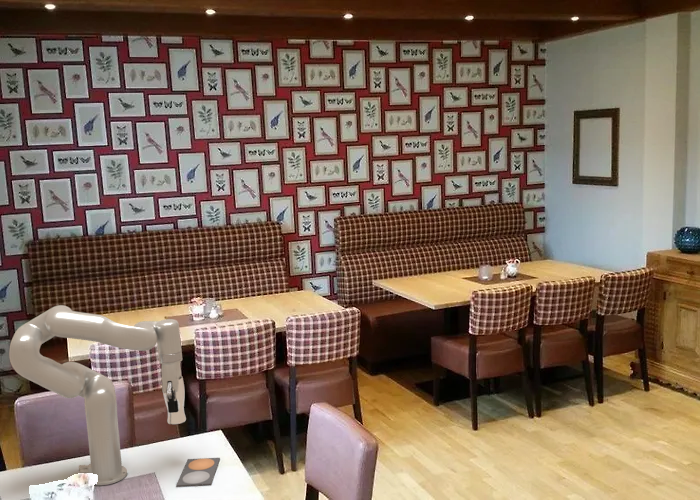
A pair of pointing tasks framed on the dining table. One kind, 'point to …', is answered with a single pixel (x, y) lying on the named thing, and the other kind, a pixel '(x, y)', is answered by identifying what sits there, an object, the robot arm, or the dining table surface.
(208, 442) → the dining table surface
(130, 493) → the dining table surface
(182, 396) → the beer glass
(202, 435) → the dining table surface
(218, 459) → the mat
